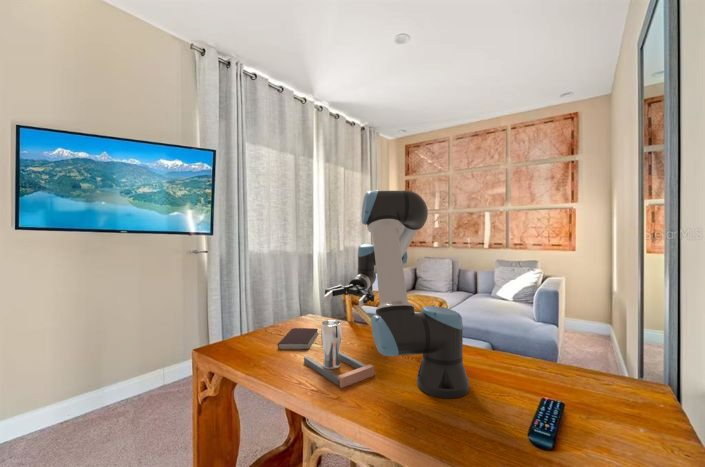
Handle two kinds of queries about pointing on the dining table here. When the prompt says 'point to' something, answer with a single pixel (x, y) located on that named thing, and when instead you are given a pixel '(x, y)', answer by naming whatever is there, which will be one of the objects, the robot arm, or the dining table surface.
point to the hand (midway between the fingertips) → (341, 302)
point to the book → (298, 339)
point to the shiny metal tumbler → (331, 343)
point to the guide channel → (346, 378)
